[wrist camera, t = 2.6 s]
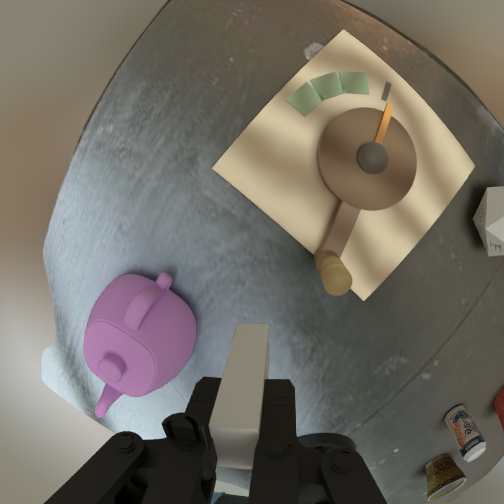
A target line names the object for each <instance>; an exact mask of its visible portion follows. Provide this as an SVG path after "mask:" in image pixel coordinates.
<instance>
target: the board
mask: <svg viewBox="0 0 504 504" xmlns="http://www.w3.org/2000/svg"><path fill="white" fill-rule="evenodd" d="M387 102H389V103H390V104H392V105H394V108H393V111H392V114H391V116H393V117H394V118H395V119H396V120H398V121H399V122H400V123H401V124H402V125H403V127H404V128H405V129H406V131H407V132H408V134H409V135H410V137H411V139H412V142H413V144H414V147H415V151H416V156H417V170H416V176H415V179H414V182H413V185H412V187H411V189H410V190H409V192H408V193H407V194H406V196H405V197H404V198H403V199H402V200H401V201H400V202H398V203H397V204H395V205H393V206H392V207H389V208H387V209H383V210H377V211H369V210H363V209H361V211H360V213H359V216H358V218H357V220H356V223H355V225H354V228H353V230H352V232H351V235H350V237H349V239H348V242H347V244H346V246H345V248H344V251H343V253H342V255H341V257H340V259H341V261H342V262H343V264H344V265H345V267H346V268H347V269H348V271H349V272H350V274H351V276H352V286H351V288H350V289H351V290H352V291H354V292H355V293H356V294H357V295H358V296H359V297H360V298H361V299H362V300H363V301H364V300H365V299H366V298H367V297H368V296H369V295H370V294H371V293H372V292H373V291H374V290H375V289H376V288H377V287H378V286H379V285H380V284H381V283H382V282H383V281H384V280H385V279H386V278H387V277H388V276H389V274H390V273H391V272H392V271H393V270H394V269H395V268H396V267H397V266H398V265H399V263H400V262H401V261H402V260H403V259H404V258H405V257H406V256H407V254H408V253H409V252H410V251H411V250H412V249H413V248H414V246H415V245H416V244H417V243H418V242H419V240H420V239H421V238H422V237H423V236H424V234H425V233H426V232H427V231H428V230H429V228H430V227H431V226H432V225H433V223H434V222H435V221H436V220H437V218H438V217H439V216H440V214H441V213H442V212H443V211H444V209H445V208H446V207H447V205H448V204H449V203H450V201H451V200H452V198H453V197H454V196H455V194H456V193H457V192H458V190H459V189H460V187H461V186H462V185H463V183H464V182H465V180H466V179H467V177H468V176H469V174H470V173H471V171H472V170H473V168H474V167H475V165H474V164H473V162H472V161H471V159H470V158H469V156H468V155H467V154H466V152H465V151H464V149H463V148H462V147H461V145H460V144H459V142H458V141H457V140H456V138H455V137H454V136H453V135H452V133H451V132H450V131H449V129H448V128H447V127H446V126H445V125H444V123H443V122H442V121H441V120H440V118H439V117H438V116H437V115H436V114H435V113H434V111H433V110H432V109H431V108H430V107H429V106H428V105H427V104H426V102H425V101H424V100H423V99H422V98H421V97H420V96H419V95H418V94H417V93H416V92H415V91H414V90H413V89H412V88H411V87H410V86H409V85H408V84H407V83H406V82H405V81H404V80H403V79H402V78H401V77H400V76H399V75H398V74H397V73H396V72H395V71H394V70H393V69H392V68H390V67H389V66H388V65H387V64H386V63H385V62H384V61H383V60H381V59H380V58H379V57H378V56H377V55H376V54H374V53H373V52H372V51H371V50H370V49H368V48H367V47H366V46H365V45H363V44H362V43H361V42H359V41H358V40H357V39H356V38H354V37H353V36H352V35H350V34H349V33H348V32H346V31H345V30H342V31H341V32H340V33H339V34H338V35H337V36H336V37H335V38H334V39H332V40H331V41H330V42H329V43H328V44H327V45H326V46H325V47H324V48H323V49H322V50H321V51H319V52H318V53H317V54H316V55H315V56H314V57H313V58H312V59H311V60H310V61H309V62H308V63H307V64H306V65H305V66H304V67H303V68H302V69H301V70H300V71H299V72H298V73H297V74H296V75H295V76H294V77H293V78H292V79H291V80H290V81H289V82H288V83H287V84H286V85H285V86H284V87H283V88H282V89H281V90H280V91H279V92H278V93H277V94H276V96H275V97H274V98H273V99H272V100H271V101H270V102H269V103H268V104H267V105H266V106H265V107H264V108H263V110H262V111H261V112H260V113H259V114H258V115H257V116H256V117H255V118H254V119H253V121H252V122H251V123H250V124H249V125H248V126H247V127H246V129H245V130H244V131H243V132H242V133H241V134H240V135H239V137H238V138H237V139H236V140H235V141H234V142H233V144H232V145H231V146H230V147H229V148H228V150H227V151H226V152H225V153H224V154H223V156H222V157H221V158H220V159H219V160H218V162H217V163H216V164H215V165H214V167H213V168H212V169H213V170H215V171H216V172H217V173H218V174H219V175H221V176H222V177H223V178H224V179H226V180H227V181H228V182H229V183H230V184H232V185H233V186H234V187H235V188H236V189H238V190H239V191H240V192H241V193H242V194H244V195H245V196H246V197H247V198H248V199H250V200H251V201H252V202H253V203H254V204H256V205H257V206H258V207H259V208H260V209H261V210H263V211H264V212H265V213H266V214H267V215H268V216H270V217H271V218H272V219H273V220H274V221H275V222H277V223H278V224H279V225H280V226H281V227H282V228H284V229H285V230H286V231H287V232H288V233H289V234H290V235H292V236H293V237H294V238H295V239H296V240H297V241H298V242H300V243H301V244H302V245H303V246H304V247H305V248H306V249H307V250H309V251H310V252H311V253H312V254H313V255H314V254H315V252H316V251H317V250H318V249H319V248H320V245H321V243H322V241H323V238H324V236H325V233H326V231H327V229H328V226H329V224H330V222H331V219H332V217H333V214H334V212H335V209H336V207H337V204H338V202H339V199H338V198H337V197H336V196H335V195H333V194H332V193H331V191H330V190H329V189H328V188H327V186H326V185H325V183H324V182H323V180H322V178H321V175H320V173H319V169H318V165H317V147H318V143H319V140H320V137H321V135H322V133H323V132H324V130H325V129H326V127H327V126H328V125H329V124H330V123H331V122H332V121H333V120H334V119H335V118H336V117H337V116H339V115H340V114H342V113H343V112H345V111H348V110H350V109H354V108H360V107H369V108H375V109H378V110H381V111H383V112H384V109H385V106H386V103H387Z"/></svg>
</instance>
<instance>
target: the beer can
mask: <svg viewBox="0 0 504 504" xmlns="http://www.w3.org/2000/svg"><path fill="white" fill-rule="evenodd" d="M445 422H446V424H447V426H448V428H449V430H450V432H451V434H452V436H453V438H454V440H455V442H456V444H457V446H458V448H459V450H460V452H461V454H462V456H463V459H464V460H465V461H467V462H470V461H473V460H474V459H476V458H477V457H479V456H480V455H481V454H482V453H483V452H484V451H485V450H486V442H485V440H484V439H483V437H482V435H481V433H480V432H479V430H478V428H477V426H476V425H475V423H474V421H473V420H472V418H471V416H470V415H469V413H468V411H467V410H466V408H465V406H463V405H460V406H457V407H455V408H453V409H452V410H450V411H449V412H448V414H447V415H446V417H445Z"/></svg>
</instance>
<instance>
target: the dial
mask: <svg viewBox="0 0 504 504" xmlns="http://www.w3.org/2000/svg"><path fill="white" fill-rule="evenodd" d="M393 108H394V105H392V104H390V103H389V102H387V103H386V106H385V109H384V112H383V111H381V110H378V109H375V108H369V107H360V108H354V109H350V110H348V111H345V112H343V113H342V114H340V115H339V116H337V117H336V118H335V119H334V120H333V121H332V122H331V123H330V124H329V125H328V126H327V127H326V129H325V130H324V132H323V133H322V135H321V137H320V140H319V143H318V147H317V165H318V169H319V173H320V175H321V178H322V180H323V182H324V183H325V185H326V186H327V188H328V189H329V190H330V191H331V193H332V194H333V195H335V196H336V197H337V198H338V199H339V202H338V204H337V207H336V209H335V212H334V214H333V217H332V219H331V222H330V224H329V226H328V229H327V231H326V233H325V236H324V238H323V241H322V243H321V245H320V248H319V249H318V250H317V251H316V252H315V254H314V262H315V264H316V267H317V269H318V272H319V275H320V277H321V280H322V282H323V285H324V287H325V290H326V291H327V292H328V293H329V294H331V295H334V296H340V295H343V294H345V293H346V292H348V291H349V289H350V288H351V286H352V276H351V274H350V272H349V271H348V269H347V268H346V267H345V265H344V264H343V262H342V261H341V259H340V257H341V255H342V253H343V251H344V248H345V246H346V244H347V242H348V239H349V237H350V235H351V232H352V230H353V228H354V225H355V223H356V220H357V218H358V216H359V213H360V211H361V209H363V210H369V211H377V210H383V209H387V208H389V207H392V206H393V205H395V204H397V203H398V202H400V201H401V200H402V199H403V198H404V197H405V196H406V194H407V193H408V192H409V190H410V189H411V187H412V185H413V182H414V179H415V176H416V170H417V156H416V151H415V147H414V144H413V142H412V139H411V137H410V135H409V134H408V132H407V131H406V129H405V128H404V127H403V125H402V124H401V123H400V122H399V121H398V120H396V119H395V118H394V117H393V116H391V114H392V111H393Z"/></svg>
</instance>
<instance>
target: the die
mask: <svg viewBox="0 0 504 504" xmlns="http://www.w3.org/2000/svg"><path fill="white" fill-rule="evenodd" d="M473 221H474V223H475V226H476V228H477V230H478V231H479V234H480V237H481V239H482V241H483V244H484V246H485V249H486V251H487V254H488V256H498V255H504V187H487V189H486V191H485V194H484V196H483V198H482V200H481V202H480V205H479V207H478V209H477V211H476V213H475V215H474V217H473Z"/></svg>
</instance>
